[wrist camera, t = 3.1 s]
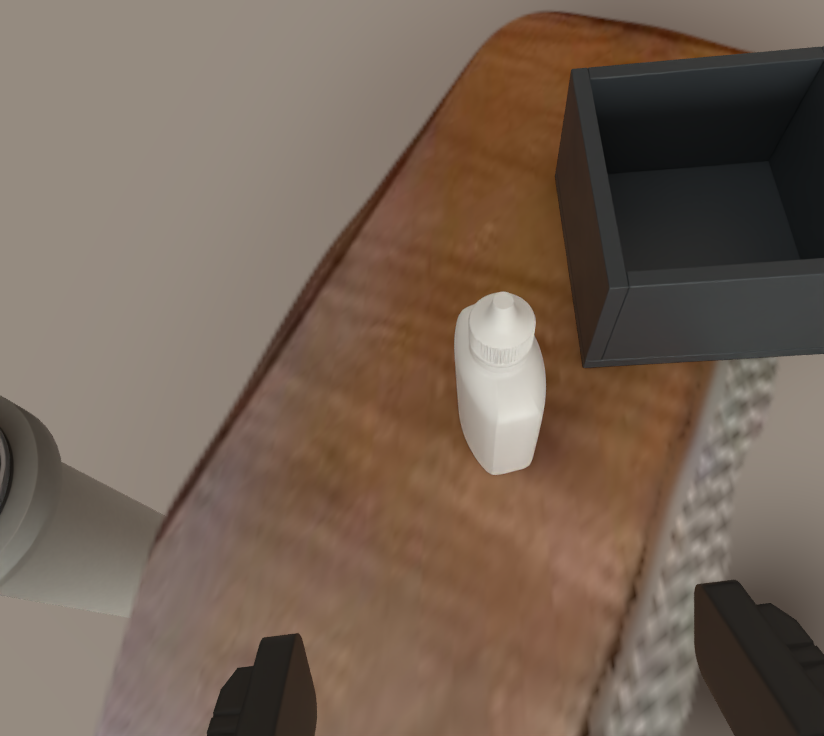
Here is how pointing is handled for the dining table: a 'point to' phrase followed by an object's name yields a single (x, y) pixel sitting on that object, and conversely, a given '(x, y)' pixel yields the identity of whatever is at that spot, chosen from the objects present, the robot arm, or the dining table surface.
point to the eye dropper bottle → (499, 381)
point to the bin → (695, 207)
